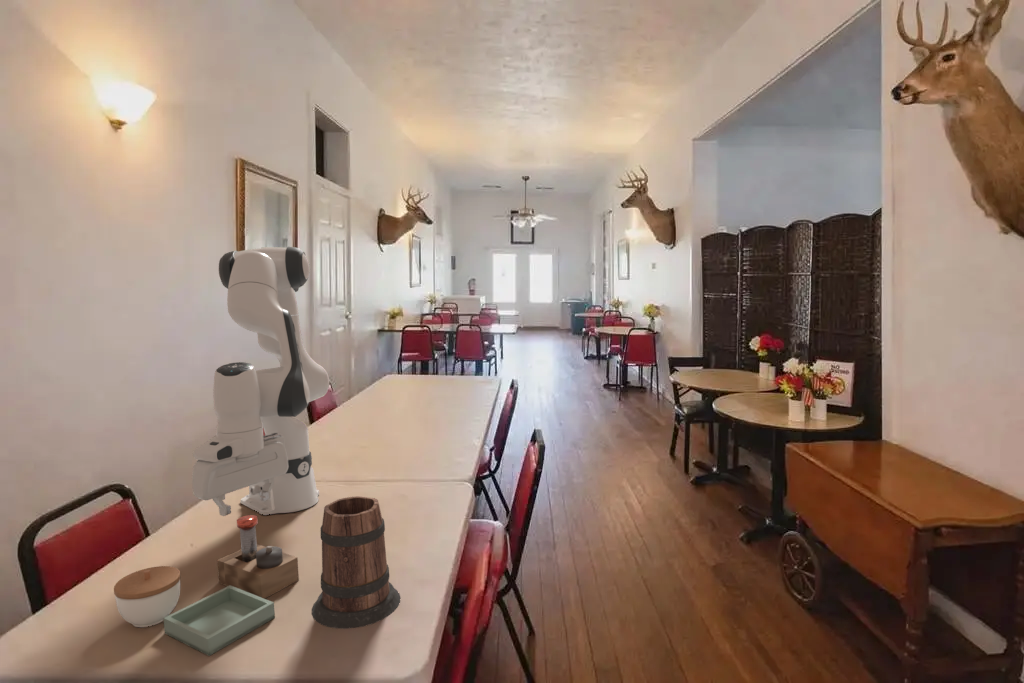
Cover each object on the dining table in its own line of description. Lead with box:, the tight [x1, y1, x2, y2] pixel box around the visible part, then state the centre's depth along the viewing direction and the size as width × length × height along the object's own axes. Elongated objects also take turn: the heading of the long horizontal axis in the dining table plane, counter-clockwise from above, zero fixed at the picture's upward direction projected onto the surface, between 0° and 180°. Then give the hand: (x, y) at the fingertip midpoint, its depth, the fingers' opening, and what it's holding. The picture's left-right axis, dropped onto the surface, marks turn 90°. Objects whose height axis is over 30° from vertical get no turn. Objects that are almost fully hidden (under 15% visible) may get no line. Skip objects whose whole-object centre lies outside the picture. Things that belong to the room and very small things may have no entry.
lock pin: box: [236, 514, 259, 563], centre depth 129 cm, size 4×4×13 cm
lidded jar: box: [113, 565, 181, 628], centre depth 115 cm, size 11×11×9 cm
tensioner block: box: [216, 543, 300, 599], centre depth 128 cm, size 14×9×8 cm, turn 59°
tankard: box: [311, 496, 402, 630], centre depth 121 cm, size 24×17×20 cm
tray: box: [163, 585, 276, 657], centre depth 112 cm, size 13×13×3 cm
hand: (246, 506), depth 127 cm, fingers open, 8 cm apart
